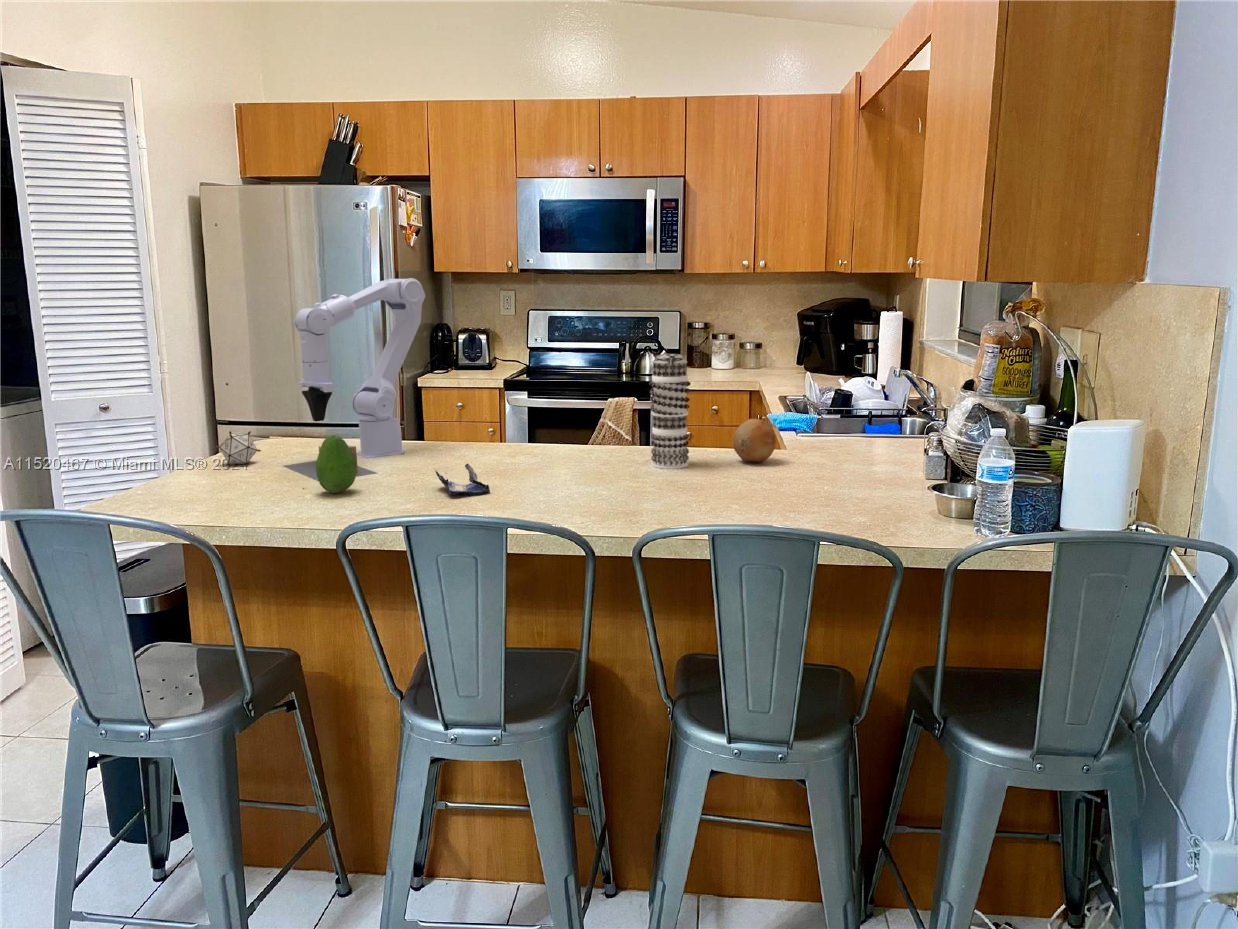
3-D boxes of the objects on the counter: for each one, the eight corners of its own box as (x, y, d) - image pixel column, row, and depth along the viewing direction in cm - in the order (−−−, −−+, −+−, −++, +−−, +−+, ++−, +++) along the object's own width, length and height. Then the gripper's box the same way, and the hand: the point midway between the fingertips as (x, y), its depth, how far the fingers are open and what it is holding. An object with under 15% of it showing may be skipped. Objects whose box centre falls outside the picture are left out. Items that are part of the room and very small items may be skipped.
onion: (727, 465, 205) (727, 421, 203) (738, 456, 214) (739, 414, 212) (769, 468, 202) (770, 423, 200) (779, 459, 211) (780, 416, 209)
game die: (250, 479, 214) (274, 443, 215) (231, 474, 206) (256, 437, 207) (221, 459, 216) (245, 424, 217) (201, 453, 208) (226, 417, 208)
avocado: (321, 499, 179) (316, 439, 177) (314, 491, 186) (309, 433, 184) (362, 494, 183) (358, 435, 180) (354, 486, 190) (350, 429, 187)
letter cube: (355, 445, 199) (358, 473, 200) (344, 442, 203) (346, 469, 205) (329, 449, 195) (331, 477, 196) (318, 445, 200) (320, 473, 201)
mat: (336, 459, 218) (335, 457, 218) (378, 474, 200) (378, 473, 200) (281, 467, 210) (281, 465, 209) (321, 484, 192) (321, 482, 192)
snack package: (493, 485, 191) (437, 485, 190) (492, 456, 189) (435, 457, 188) (488, 509, 180) (429, 509, 179) (487, 479, 177) (427, 479, 177)
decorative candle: (669, 471, 200) (669, 357, 195) (641, 464, 207) (640, 354, 201) (698, 465, 206) (699, 354, 200) (670, 459, 213) (669, 352, 207)
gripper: (285, 360, 210) (289, 418, 212) (310, 364, 199) (314, 426, 201) (315, 358, 214) (319, 416, 217) (341, 363, 203) (344, 423, 206)
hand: (318, 420), depth 209 cm, fingers closed
